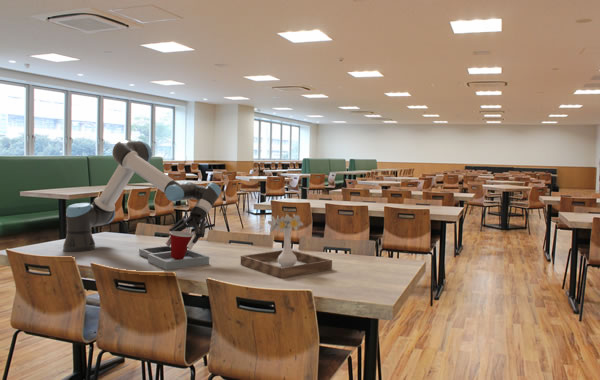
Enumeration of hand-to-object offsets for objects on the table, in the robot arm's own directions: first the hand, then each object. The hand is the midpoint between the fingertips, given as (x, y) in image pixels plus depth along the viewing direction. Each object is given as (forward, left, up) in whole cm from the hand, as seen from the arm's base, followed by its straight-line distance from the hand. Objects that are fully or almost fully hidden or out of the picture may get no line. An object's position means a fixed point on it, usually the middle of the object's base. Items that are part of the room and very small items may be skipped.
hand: (177, 246), depth 224 cm
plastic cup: (-4, +1, -6) cm, 7 cm away
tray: (0, +1, -8) cm, 8 cm away
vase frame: (+35, +36, -8) cm, 50 cm away
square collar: (-20, +1, -8) cm, 22 cm away
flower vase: (+35, +36, -8) cm, 50 cm away
